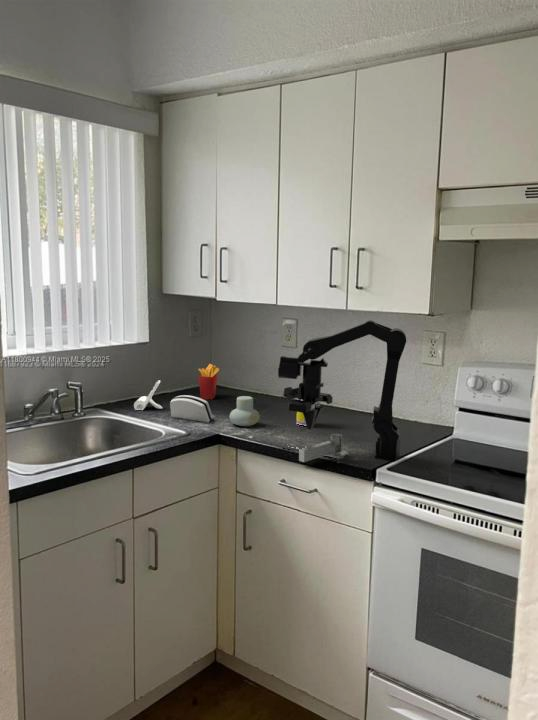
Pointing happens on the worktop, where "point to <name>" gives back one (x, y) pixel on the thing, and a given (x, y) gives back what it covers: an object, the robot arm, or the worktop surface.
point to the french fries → (208, 382)
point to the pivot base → (338, 454)
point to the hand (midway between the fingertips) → (309, 429)
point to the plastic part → (147, 400)
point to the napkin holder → (191, 408)
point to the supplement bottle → (301, 418)
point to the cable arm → (321, 448)
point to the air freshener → (244, 412)
